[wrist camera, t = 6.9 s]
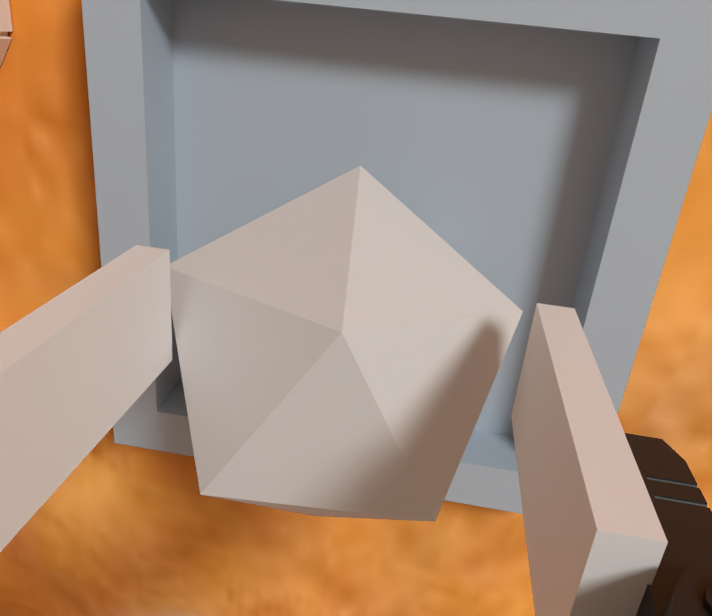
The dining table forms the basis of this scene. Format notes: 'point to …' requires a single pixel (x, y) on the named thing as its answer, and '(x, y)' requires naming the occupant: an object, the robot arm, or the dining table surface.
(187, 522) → the dining table surface
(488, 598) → the dining table surface
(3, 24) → the cup
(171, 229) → the tray
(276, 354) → the die
